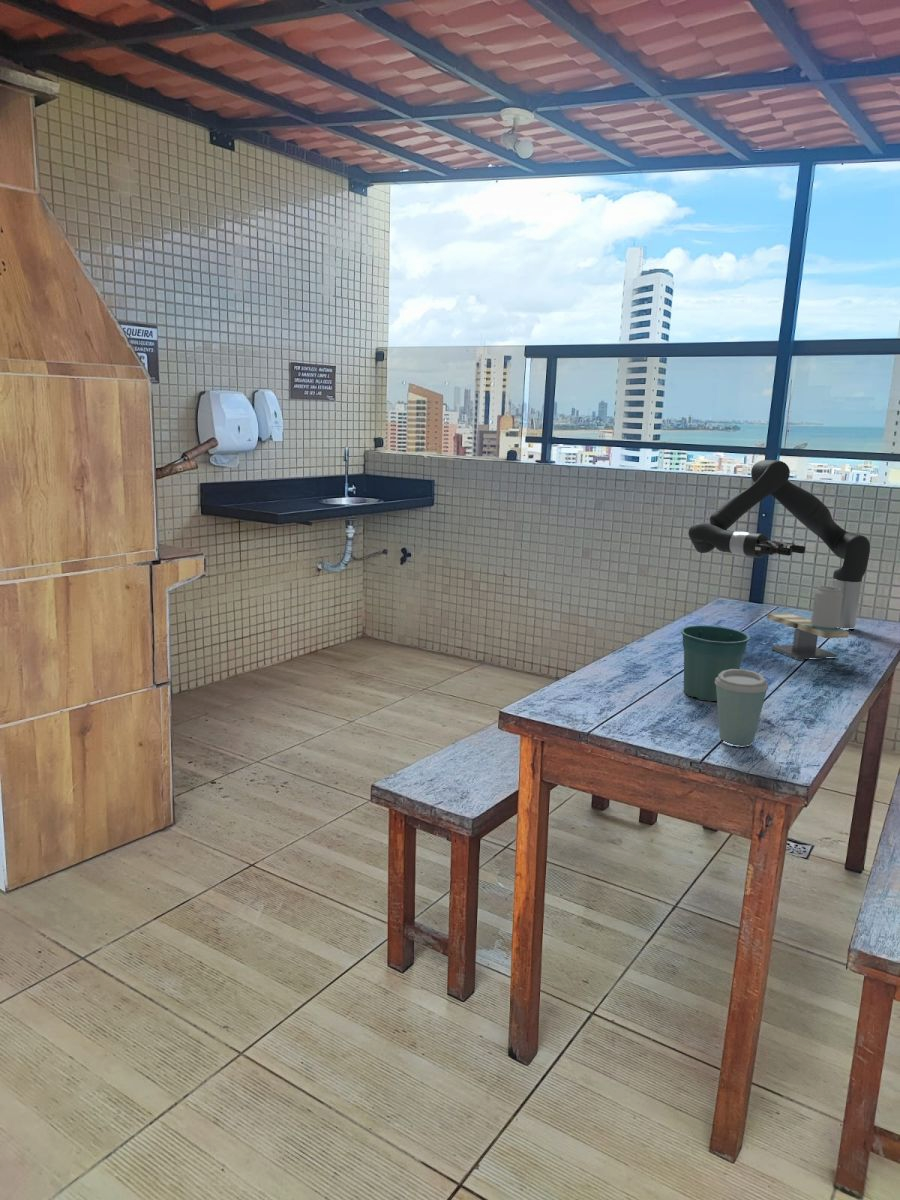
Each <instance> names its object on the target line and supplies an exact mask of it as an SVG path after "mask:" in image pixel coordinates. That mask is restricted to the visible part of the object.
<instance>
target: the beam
mask: <svg viewBox="0 0 900 1200" xmlns="http://www.w3.org/2000/svg"><path fill="white" fill-rule="evenodd" d="M766 619H767V620H770V621H773V622H776V623H779V624H781V625H785V626H788V627H791V628H793V629H800V630H803V631H806V632H809V633H812V634H815V635H818V636H819V637H821V638H824V639H832V638H833V639H836V638H837V639H838V638H839V639H841V638H849V635H850V634H849V633H850V632H849V630H843V629H839V628H836V629H834V630H825V629H819V628H816V627H814V626H813V625H812V624H811V620H812V619H810V618H806V617H802V616H798V615H796V614H792V613H789V612H784V613H783V612H782V613H779V612H777V613H776V612H775V613H767V617H766Z"/></svg>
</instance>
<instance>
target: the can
mask: <svg viewBox="0 0 900 1200" xmlns="http://www.w3.org/2000/svg"><path fill="white" fill-rule="evenodd" d="M842 598H843V594H842V593H841V589H839V588H835V587H832V586H825V585H823V586H818V587H817V590H815V593H814V598H813V599H814V600H813V607H812V614H811V619H810V620H811V624H812V625H813V626H814V627H816V628H819V629H825V630H834V629H836V628H837V627H839V620H840V613H841V605H842Z"/></svg>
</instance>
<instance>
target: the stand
mask: <svg viewBox="0 0 900 1200" xmlns="http://www.w3.org/2000/svg"><path fill="white" fill-rule="evenodd" d="M792 641H793V642H792V644H790V645H789V644H787V645H784V644H783V645H771V649H773V650H775V651H774V652H776V651H778V652H781V653H783V654H786V655H788V656H791V657H794V658H796V659H806V658H807V659H808V658H826V657H838V656H837V655H838V654H836V653H833V652H831V651H829V650H826V649H824V648H823V649H822V648H820V647H817V644H818V635H815V634H812V633H809V632H806V631H803V630H800V629H797V628H794V633H793V639H792ZM773 650H772V651H773ZM778 652H777V653H778ZM781 653H780V654H781ZM783 654H782V655H783ZM786 655H785V656H786ZM788 656H787V657H788ZM791 657H790V658H791ZM794 658H793V659H794ZM796 659H795V660H796Z"/></svg>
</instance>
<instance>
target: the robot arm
mask: <svg viewBox="0 0 900 1200" xmlns="http://www.w3.org/2000/svg"><path fill="white" fill-rule="evenodd" d="M790 474H791V472H790V467H789V465H788V464H787V463H786V462H785V461H781V460H777V459H763V460H759V461H757V462H756V463H754V464H753V465H752V468H751V471H750V475H751V479H752V481H753V482H754V483H753V484H752V485H750V486H749V487H747V488H746V489H744V490H743V491H741V492H739V493H737V494H736V495H734V496H732V497H731V498H729V499H728V500H726V501H725V502H724V503H723V504H721V505H720V506H719V507H718V508H717V509H716V510H715V511H714V512H713V513H712V514H711V515H710V517H709V523H707V522H697V523H694V524H692V525H691V526H690V527H689V529H688V534H687V535H688V538H689V539H690V541H691V543H692V545H693V547H694V549H695V550H696V552H697V553H700V554H706V553H709V552H711V551H713V550H714V549H715V548H716V550H718V551H720V552H723V553H728V554H729V553H730V554H735V555H738V556H743V557H749V558H750V557H751V558H756V559H760V558H763V557H764V556H765V555H769V556H777V555H781V556H788V557H789V556H791V555H792V553H796V554H805V553H806V546H805V545H797V544H795V543H794V542H786V541H779V540H777V541H776V540H773V539H771V540H768V537H767V536H766V534H764V533H758V532H752V531H736V530H729V528H731V527H732V526H733V525H734V524H735V523H736V522H737V521H738V520H739V519H740V518H742V517H743V515H744V514H746V513H747V512H748V511H749V510H751V509H752V508H753V507H754V506H756V505H758V504H759V503H760V502H761V501H763V500H764V499H766V498H767V497H768V496H770V495H771V497H773V498H774V499H776V501H778V502H779V503H780V504H781V505H782V507H784V509H786V510H787V511H788V512H789V513H790V514H792V515H793V517H794V518H795V519H797V520H798V522H800V523H801V524H802V525H804V526H805V527H806V528H808V529H809V530H810V531H811V532H812V533H813V534H815V535H816V536H817V537H818V538H820V539H821V541H822V542H823V543H825V545H826V546H827V547H828V549H829V550H830V551H831V552H832V553H833V554H834V555H835V556H836V557H838V558H840V559H842V560H843V564H842V565H841V567H840V568H837V569H835V570H834V571H833V575H832V581H831V587H835V588H839V589H841V593H842V594H843V598H842V605H841V613H840V620H839V627H838V628H854V627H855V628H856V623H857V618H858V617H857V616H858V609H859V603H860V597H861V589H862V583H863V582H862V581H863V577H864V575H865V574H866V571H867V568H868V562H869V558H870V553H871V543H870V541H869V539H868V538H867V537H866V536H864V535H861V534H856V533H851V532H848V531H846V530H845V529H843V528H842V527H841V526H840V525H838V524H837V523H836V522H835V520H834V519H833V517H832V513H831V511H830V509H829V508H828V506H826V505H825V504H824V503H823V501H821V500H820V499H819V498H818V497H817V496H815V495H814V494H813V493H811V492H809V491H808V490H805V489H804V488H801V487H800V486H798V485H796V484H794V483H792V482H791V481H789V479H790V476H791V475H790ZM788 546H789V547H788Z"/></svg>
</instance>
